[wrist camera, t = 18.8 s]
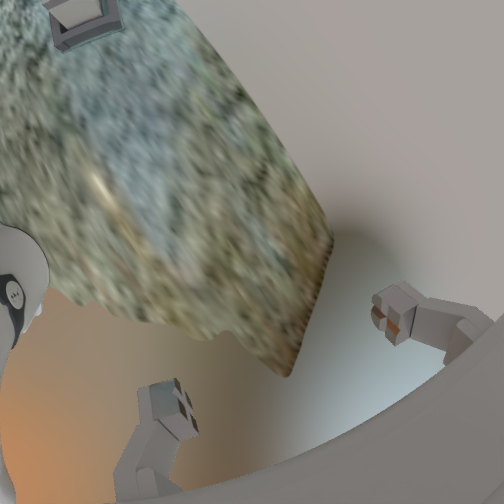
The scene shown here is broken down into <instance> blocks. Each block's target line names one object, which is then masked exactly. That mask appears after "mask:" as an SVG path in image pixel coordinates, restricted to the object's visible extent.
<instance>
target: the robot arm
mask: <svg viewBox="0 0 504 504" xmlns="http://www.w3.org/2000/svg"><path fill="white" fill-rule="evenodd" d="M48 284H49V268H48V264H47V261H46V258H45V256H44V254H43V252H42V250H41V249H40V247H39V246H38V244H37V243H36V242H35V241H34V240H33V239H32V238H31V237H30V236H29V235H27V234H26V233H24V232H23V231H21V230H19V229H16V228H12V227H8V226H5V225H3V224H1V223H0V387H1V381H2V377H3V373H4V369H5V367H6V363H7V360H8V357H9V354H10V351H11V350H12V349H13V348H14V346H15V345H16V343H17V341H18V340H19V338H20V335H21V333H25V332H26V331H27V329H28V327H29V325H30V323H31V321H32V319H33V317H34V316H39V315H40V314H41V312H42V310H43V297H44V294H45V292H46V290H47V288H48ZM372 303H373V304H374V306H373V308H372V310H371V318H372V321H373V323H374V325H375V326H376V327H377V328H378V329H379V330H380V331H384V332H385V337H386V338H387V339H388V340H389V341H390V342H391V343H392V344H393V345H394V346H396V345H398V344H400V343H402V342H403V341H405V340H406V339H408V338H411V339H413V340H416V341H419V342H421V343H424V344H427V345H430V346H432V347H435V348H438V349H440V350H443V351H446V355H445V357H444V360H443V364H444V365H445V366H446V367H444V368H443V369H442V370H441V371H440V372H438V373H437V374H435V375H434V376H433V377H431V378H430V379H429V380H428V381H426V382H425V383H423V384H422V385H421V386H419V387H418V388H416V389H415V390H414V391H412V392H411V393H409V394H408V395H406V396H405V397H403V398H402V399H401V400H399V401H397V402H396V403H395V404H393V405H391V406H390V407H388V408H387V409H385V410H383V411H382V412H380V413H379V414H377V415H375V416H374V417H372V418H370V419H369V420H367V421H365V422H363V423H362V424H360V425H358V426H356V427H355V428H353V429H351V430H349V431H347V432H345V433H343V434H341V435H340V436H338V437H336V438H334V439H332V440H330V441H328V442H326V443H324V444H322V445H319V446H318V447H315V448H313V449H311V450H309V451H307V452H304V453H302V454H300V455H297V456H295V457H293V458H290V459H288V460H285V461H283V462H281V463H278V464H275V465H273V466H270V467H268V468H265V469H262V470H259V471H256V472H254V473H251V474H248V475H245V476H242V477H239V478H235V479H232V480H229V481H225V482H222V483H219V484H215V485H211V486H208V487H204V488H200V489H195V490H192V491H187V492H183V488H182V487H180V486H179V485H177V484H175V483H174V482H172V481H170V480H169V475H170V472H171V469H172V466H173V463H174V459H175V456H176V453H177V450H178V447H179V443H180V442H179V441H181V440H185V439H188V438H191V437H194V436H197V435H200V434H199V430H198V426H197V422H196V420H195V419H194V417H193V416H192V413H193V407H192V404H191V401H190V399H189V397H188V395H187V393H186V392H185V390H184V389H181V387H180V383H179V381H178V380H177V379H176V378H172V379H169V380H166V381H162V382H159V383H155V384H152V385H148V386H145V387H141V388H138V391H137V396H138V407H139V417H140V425H137V426H136V428H135V430H134V432H133V434H132V436H131V438H130V440H129V442H128V444H127V446H126V448H125V450H124V452H123V454H122V455H121V457H120V460H119V462H118V463H117V466H116V467H115V470H114V472H113V477H114V486H115V494H116V501H117V503H104V504H504V313H503V315H502V316H501V317H500V318H499V319H498V320H497V321H496V322H494V321H493V320H492V319H490V318H489V317H488V316H487V315H485V314H484V313H483V312H482V311H480V310H479V309H478V308H477V307H474V306H469V305H464V304H459V303H454V302H450V301H445V300H439V299H435V298H428V299H427V298H426V297H425V296H424V295H422V294H421V293H420V292H418V291H417V290H416V289H415V288H413V287H412V286H411V285H410V284H408V283H407V282H406V281H404V280H400V281H398V282H396V283H394V284H392V285H390V286H388V287H387V288H385V289H383V290H381V291H379V292H377V293H376V294H374V295H373V297H372ZM0 504H16V492H15V488H14V485H13V483H12V481H11V478H10V476H9V473H8V471H7V468H6V465H5V461H4V457H3V452H2V444H1V437H0Z"/></svg>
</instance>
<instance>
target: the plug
mask: <svg viewBox="0 0 504 504" xmlns="http://www.w3.org/2000/svg"><path fill="white" fill-rule="evenodd" d="M42 5H43V6H44V7H45V8H46V9H47V10H48V11H49V12H50V13H51V14H52V15H53V16H54V17H55V18H56V19H57V20H58V21H59V22H60V23H61V24H62V25H64V26H65V27H66V28H67V29H68V30H72V29H74V28H76V27H79V26H81V25H83V24H86V23H88V22H91V21H93V20H96V19H99V18H101V17H104V12H103V7H102V1H101V0H42Z"/></svg>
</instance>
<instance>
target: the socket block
mask: <svg viewBox="0 0 504 504" xmlns="http://www.w3.org/2000/svg"><path fill="white" fill-rule="evenodd" d="M101 1H102V7H103V12H104V17H101V18H99V19H96V20H93V21H91V22H88V23H86V24H83V25H81V26H79V27H76V28H74V29H72V30H68V29H67V28H66V27H65V26H64V25H62V24H61V23H60V22H59V21H58V20H57V19H56V18H55V17H54V16H53V15H52V14H51V13H50V12H49V16H50V23H51V29H52V35H53V41H54V47H56V48H57V49H59V50H60V51H61V53H63V54H64V53H67V52H69V51H71V50H73V49H75V48H78V47H80V46H82V45H85V44H87V43H90V42H92V41H94V40H97V39H100V38H102V37H105V36H108V35H110V34H113V33H116V32H119V31H122V30H125V29H124V25H123V20H122V16H121V11H120V6H119V1H118V0H101Z"/></svg>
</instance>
